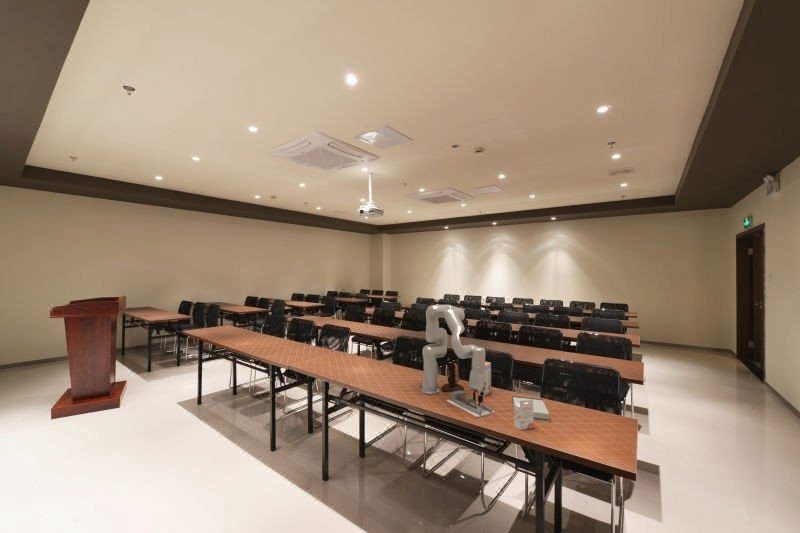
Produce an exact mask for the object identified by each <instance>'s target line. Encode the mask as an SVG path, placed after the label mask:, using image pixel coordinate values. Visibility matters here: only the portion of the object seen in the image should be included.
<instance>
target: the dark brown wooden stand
mask: <svg viewBox="0 0 800 533" xmlns="http://www.w3.org/2000/svg"><path fill="white" fill-rule="evenodd" d="M459 366H460V364H459V361H457V360H452V361H450V362H449V363H448V364H447V369H448V370H449V373H448V375H449V376H447V382H448V383H445V384H442V386H441V387H442V392H448V393H449V392H450V393H451V392H455V391H460V390H461V391H464V392H465V388H464V385H461V384H459V380H460V375H459V374H460V373H459Z"/></svg>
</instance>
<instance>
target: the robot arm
mask: <svg viewBox="0 0 800 533" xmlns="http://www.w3.org/2000/svg"><path fill="white" fill-rule="evenodd" d="M465 314H466V313H465V312H464V309H462V308H459V307H457V306H453V305H451V304H433V305H430V306H428V307H427V309H426V311H425V318H426V321H425V322H426V326H425V340H426V342H427V343H431V344H427V345H425V346H423V348H422V359H423V379H422V380H423V382H422V383H421V386H422V387H421V389H420V392H421V393H422V394H426V395H437V394H439V393H440V389H439V388H438V373H439V372H438V371H439V370H438V362H437V360H436V359H439V358H444V357H445V356H446V355H447V352H448V333H447V330H446V329H445V328H443V327H440V322H439V319H438V318H444V319H445V322H446V324H447V326H448V329H449V330H450V332H451V337H450V338H451V341H450V342H451V343H450V344H451V346H452V350H453V351H454V354H455V355H456V356H457V358H459V359H461V360H462V359H463V360H464V359H471V370H470V373H469V379H468V380H469V384H468V385H469V388H470V389H471V392H472V397H473V400H474V401H475V390H478V391H479V396H478V403H481V404H482V403H484V402H483V401H484V396H483V395H484V394H485V393H487V389H486V388H487V380H486V373H485V362H486V349H485V348H484V347H481V346H477V345H476V344H465V345H464V344H462V342H461V339H460V335H461V334H463V333H464V331H465V329H466V328H465V326H464V324H463V322H462V321H463V320H464V319H465V317H466V315H465ZM481 391H482V392H481Z"/></svg>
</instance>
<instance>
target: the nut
mask: <svg viewBox="0 0 800 533" xmlns="http://www.w3.org/2000/svg"><path fill="white" fill-rule="evenodd" d="M466 397H467V396H466V395H465V396H464V395H463V396H461V397H460V401H461V402H463V403H466V399H467V398H468V397H467V398H466Z"/></svg>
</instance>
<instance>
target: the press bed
mask: <svg viewBox="0 0 800 533" xmlns="http://www.w3.org/2000/svg"><path fill="white" fill-rule="evenodd" d="M463 395H464V396H466V392H465V390H464V391H461V390H460V391H455V392H450V399H447V400H446V402H448V403H450V404H451V405H453V406H455V407H458V408H459V409H461V410H463V411H465V412H467V413H468V414H471V415H473V416H475V417H474V419H475V420H479V419H483V418H486V417H491V416H495V415H496V413H495V411H494V410H493V408H491V407H489V406H487V405H485V404H483V405H484V410H481V411H479V410H477V409H475V408H473V407H471V406H469V405H467V404H466V403H463V402H461V401H460V397H461V396H463ZM466 398H467V399H468V398H469V397H468V396H466Z"/></svg>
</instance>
